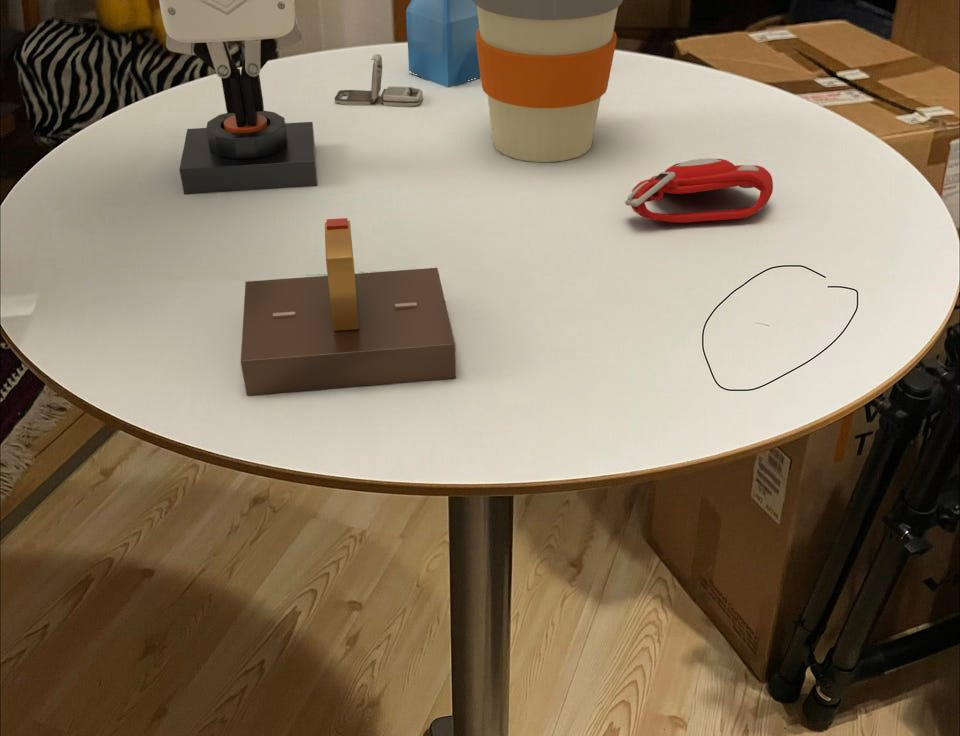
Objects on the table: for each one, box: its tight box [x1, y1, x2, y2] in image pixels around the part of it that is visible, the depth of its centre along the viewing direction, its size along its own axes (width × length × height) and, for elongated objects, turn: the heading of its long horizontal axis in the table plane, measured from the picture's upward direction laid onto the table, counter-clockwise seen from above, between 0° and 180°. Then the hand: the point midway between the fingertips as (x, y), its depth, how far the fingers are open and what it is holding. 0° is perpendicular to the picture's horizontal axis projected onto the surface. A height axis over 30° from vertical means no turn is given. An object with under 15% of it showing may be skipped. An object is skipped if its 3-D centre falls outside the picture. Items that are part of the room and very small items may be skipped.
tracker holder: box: [624, 158, 774, 223], centre depth 83 cm, size 12×4×10 cm
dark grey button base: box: [179, 110, 318, 195], centre depth 89 cm, size 11×9×4 cm
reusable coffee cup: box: [473, 0, 624, 163], centre depth 90 cm, size 13×12×15 cm
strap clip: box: [334, 54, 423, 108], centre depth 102 cm, size 8×3×4 cm, turn 84°
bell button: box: [224, 114, 268, 133], centre depth 88 cm, size 4×4×2 cm
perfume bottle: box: [405, 0, 481, 88], centre depth 105 cm, size 6×6×12 cm
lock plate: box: [240, 267, 457, 396], centre depth 68 cm, size 13×10×3 cm
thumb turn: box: [324, 217, 359, 331], centre depth 65 cm, size 5×2×5 cm, turn 7°
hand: (247, 120), depth 88 cm, fingers closed
